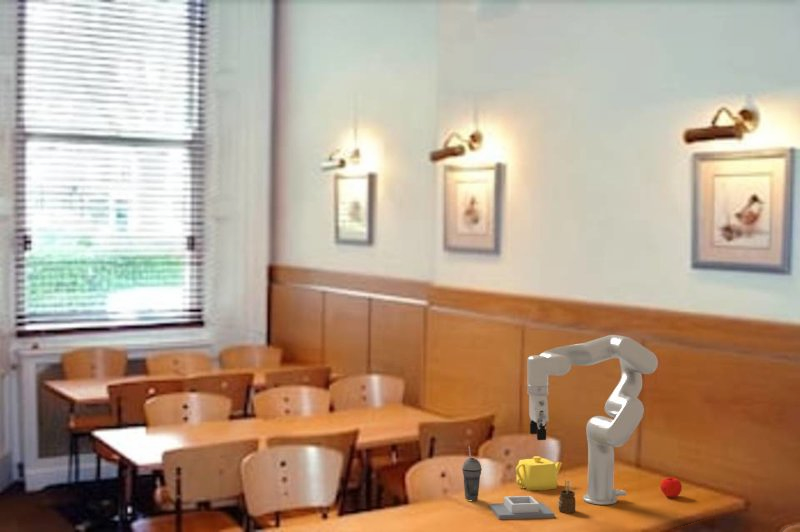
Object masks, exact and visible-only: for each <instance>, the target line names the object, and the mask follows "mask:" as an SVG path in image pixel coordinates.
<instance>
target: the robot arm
mask: <svg viewBox="0 0 800 532" xmlns="http://www.w3.org/2000/svg"><path fill="white" fill-rule="evenodd" d="M612 359H619V364H620V370H621V377H620V379H619V381H618V382H617V385H616V386H615V388H614V390H613V391H612V393H610V395H609V397H608V399H607V400H606V401H605V405H604V412H605V414H607V415H608V416H609V417H608V416H604V415H596V416H593V417H591V418H590V419H589V420H588V421H587V423H586V428H585V429H586V431H585V432H586V433H585V434H586V438H587V449H588V450H587V452H588V453H587V455H588V456H587V489H586V490H587V491H586V494H584V495H582V500H583V501H584V502H586V503H590V504H592V505H593V504H594V505H599V506H600V505H602V506H603V505H604V506H605V505H606V506H607V505H608V506H609V505H614V504H616V503H618V497H619V496H621V497H625V496H626V495H627V492H626V490H620V489H615V488H614V479H615V478H614V475H615V473H614V472H615V471H614V470H615V469H614V468H615V452H614V451H615V450H614V448H620V447H622V446H624V445H625V444H626V443H627V442H628V440H629V439H630V437H631V435H632V434H633V433H634V432H635V430H636V429H637V427H638V426H639V424H640V423H641V421H642V419H643V416H644V413H645V412H644V411H645V409H644V405H643V402H642V401H641V400H640V399H639V398H638V396H639V395H640V394H641V391H642V388H643V377H642V374H643V375H651V374H653V373H654V372H655V371H656V370H657V368H658V365H659V361H658V358H657V356H656V354H655V353H654V352H653V351H651V350H649V349H648V348H646V347H645V346H643V345H642V344H640V343H639V342H637V341H636V340H634V339H633V338H631V337H628V336H623V335H619V334H608V335H606V336H602V337H598V338H596V339H593V340H590V341H585V342H581V343H575V344H570V345H564V346H559V347H554V348H552V349H547V350H545V351H543V352H541V353H540V354H538V355H537V354H536V355H529V357H527V361H526V364H527V365H526V366H527V368H526V373H527V374H526V377H527V383H526V384H527V385H526V386H527V387H526V389H527V393H526V394H527V395H529V397H528V399H529V400H528V402H529V404H528V415H529V418H530V419H529V434H531V435H536V440H537V441H546V440H547V423H548V422H549V421H550V419H549V402H548V396H549V376H564V375H566V374H568V373H569V372H570V370H571V368H572V366H580V367H581V366H592V365H593V366H594V365H595V364H599V363H601V362H605V361H607V360H608V361H609V360H612ZM610 417H611V418H610Z"/></svg>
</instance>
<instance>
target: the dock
mask: <svg viewBox="0 0 800 532" xmlns="http://www.w3.org/2000/svg"><path fill="white" fill-rule="evenodd" d="M488 509H489V510H490V511H491V510H492V511H493V512H492V513H493V514H494V516H495V517H496V518H497V517H498V518H497V519H498V520H521V519H523V520H525V519H549V518H551V519H553V518H555V512H553V510H552V509H550V508H549V507H548V506H547V505H546V504H545V503H544V502H543V501H540V502H539V501H537V500H536V498H534V497H533V496H531V495H517V496H515V495H514V496H503V502H502V503H501V502H500V503H499V502H498V503H488Z"/></svg>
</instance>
